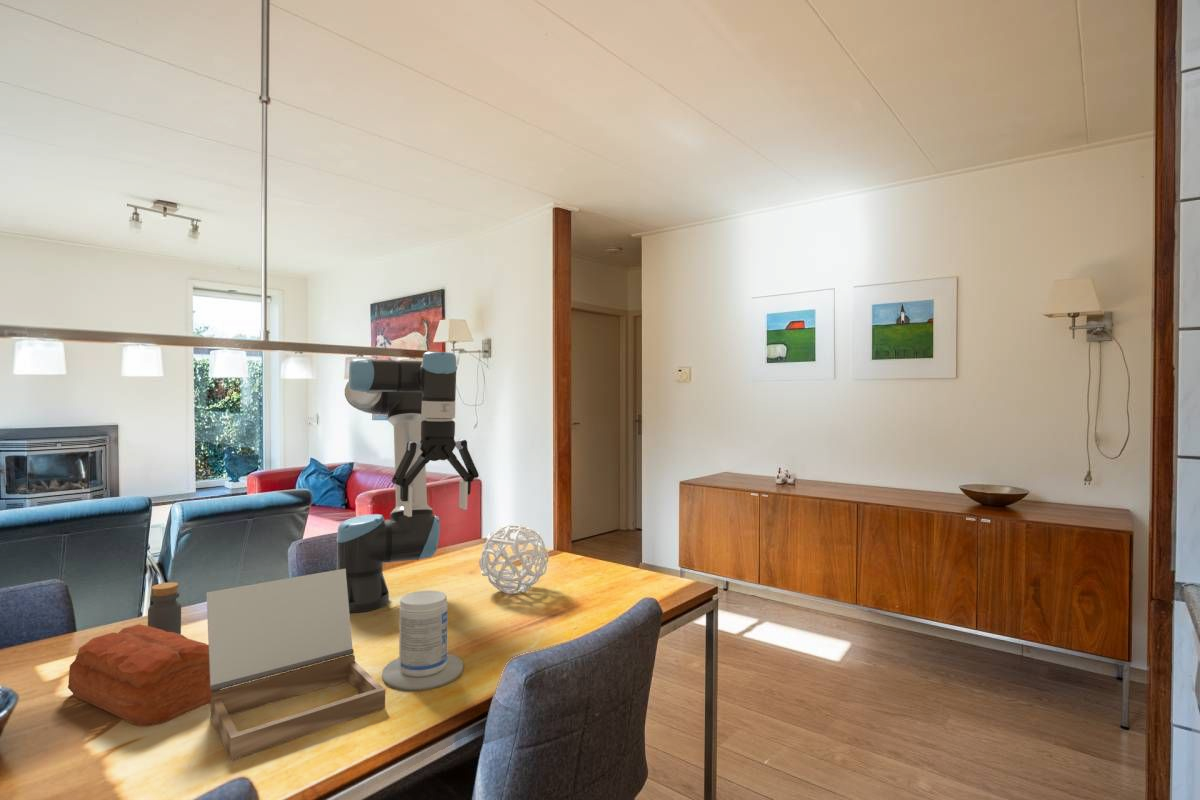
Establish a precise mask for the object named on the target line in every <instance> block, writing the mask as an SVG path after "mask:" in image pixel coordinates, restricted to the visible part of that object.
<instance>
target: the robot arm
mask: <svg viewBox="0 0 1200 800" xmlns="http://www.w3.org/2000/svg"><path fill="white" fill-rule="evenodd" d="M348 369H349V370H348V381H347V382H346V385H345V388H344V397H345V399H346V402H348V404H349V405H350V406H352V407H353V408H355V409H357V410H358V411H361V412H363V413H368V414H373V415H386V416H387V420H388V422H389V424H391V425H392V426H393V443H394V444H393V445H394V447H393V448H394V449H393V450H394V475H393V477H392V479H391V483H392V484H394V486H395V488H394V489H395V507H394V508H393V510H392V511H391V512H390V515H389V516H390V519H385V517H384V516H383V514H378V513H375V514H373V513H372V514H371V513H369V514H364V515H358V516H355V517H354V516H353V517H351V518H349V519H346V520H344V521H342V522H341V523H340V524H339V525H338V528H337V535H336V536H337V537H336V539H335V540H336V543H337V545H336V547H337V548H336V551H337V553H336V570H340V569H345V568H346V579H347V591H348V602H349V613H362V612H368V611H371V610H377V609H379V608H382V607H383V606H385V605H386V604H388V602H389V601H390V593H389V592H390V591H389V588H388V585H387V582H386V580H385V577H384V573H383V572H384V570H383V568H384V567H383V565H384V563H398V562H406V561H415V560H416V561H419V560H423V559H428V558H429V559H430V558H432V557H433V556H434V555H435V554H436V552H437V550H438V546H439V539H440V531H441V524H440V518H439V516H438V515H437V516H436V515H434V509H433V508H432V507H431V506H429V505H428V495H427V470H426V465H427V464H428V463H429V462H430V461H431V462H437V461H448V462H449V464H450V466H452V468H453V469H454V470H455V471H456V473H458V475H459V476H460V477H461V479H462V480H459V483H458V484H459V485H458V486H459V489H458V508H460V509H462V510H464V511H465V510H468V495H470V494H471V491H472V489H471V488H472V482H473V481H474V479H477V478H479V476H480V475H479V472H478V470H477V467H476V464H475V463H474V461H473V458H472V456H471V454H470V451H469V448H468V441H467V440H466V439H461V438H459V439H457V440H455V436H456V422H455V421H454V420H453V419H455V418H456V393H457V370H458V366H457V356H456V354H455V353H453V352H447V351H445V352H444V351H426V352H424V353H423V354H422V360H399V359H398V360H396V359H395V360H393V359H391V360H390V359H375V358H374V359H373V358H372V359H371V358H367V357H366V358H353V359H351V360H350V362H349V367H348ZM455 448H456V449H457V450H458V452H459V455H460V457H461V459H462V461H463V464H464V465H462V463H461V462H460V461H459V459H458V456H457V455H456V454H455V453H454V452H453V451H454V449H455ZM464 466H465V467H464Z"/></svg>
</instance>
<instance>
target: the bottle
mask: <svg viewBox="0 0 1200 800" xmlns="http://www.w3.org/2000/svg"><path fill="white" fill-rule="evenodd" d="M178 587H179V583H178V582H176V581H175V582H162V583H157V584H154V585H153V586H151V592H152V594H151V595H150V597H149V599H150V600H149V601H151V602H153V603H152V604H151V605H150V606H149V607H148V608H147V626H150V627H155V628H158V629H161V630H164V631H166V632H175V633H177V634H180V635H182V604H181V601H179V600H177V599H178V598H179V597H180V591H179V590H178Z"/></svg>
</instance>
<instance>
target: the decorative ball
mask: <svg viewBox="0 0 1200 800" xmlns="http://www.w3.org/2000/svg"><path fill="white" fill-rule="evenodd" d="M512 533H513V534H514V536H513V538H511V534H512ZM519 535H522V536H519ZM499 538H502V539H499ZM529 543H530V544H531V545H532V546H533V549H527V547H528V545H529ZM495 545H496V546H497V549H494V547H495ZM508 545H510V548H511V551H512V552H513V554H511V556H509V553H508V552H507V550H506V548H508V547H507V546H508ZM519 546H522V548H521V549H520V547H519ZM539 548H540V550H539ZM491 554H492V555H493V556H494V557H493V559H492V560H491V558H490V555H491ZM524 556H525V557H524ZM501 557H502V558H503V560H499V559H500V558H501ZM549 559H550V558H549V552H548V549H546V546H545V543H544V540H543V538H542V537H541V533H539V532H538V531H536V530H535V529H534V528H531V527H527V526H525V525H522V524H514V525H512V524H511V525H501V526H500V527H499V528H498V529H497V530H495V531H493V532H490V533H488V535H487V536H486V541H485V543H484V545H483V547H482V551H481V556H480V558H479V560H478V563H479V567H480V570H481V571H480V573H481V575H482V576H483V577H486V576H487V577H488V578H487V580H488V582H489V583H490V584H491V585H492V586H493V587H494V588H495V589H497V590H499V591H500V592H502V593H505V594H507V595H516V594H519V593H523V594H524V593H526V592H528V591H529V589H530V587H533V586H534V584H536V583H537V582H538V581H539V580H540V578H541V576H544V575H545V574H546V572H547V570H548V565H547V564H548V562H549ZM516 560H518V561H519V562H520V564H521V566H522V567H521V569H518V567H517V566H516V565H515V564H513V562H515V561H516ZM498 565H499V566H500V565H501V567H500V569H497V568H496V566H498ZM489 566H490V567H489ZM533 566H534V571H535V572H534V571H533V570H532V568H533ZM507 567H509V569H506V568H507ZM515 576H516V577H515ZM527 576H530V577H528V578H527V579H525V578H526V577H527ZM524 579H525V580H524Z"/></svg>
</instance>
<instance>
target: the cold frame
mask: <svg viewBox="0 0 1200 800" xmlns="http://www.w3.org/2000/svg"><path fill="white" fill-rule="evenodd" d="M347 681H348V682H349V683H350V684H351V685H352V686H354V688H356V689H357V691H358V692H359V694H356V695H352V696H350V697H347V698H343V699H340V700H337V701H334V702H331V703H330V702H329V703H327V704H324V705H321V706H317V707H315V708H311V709H308V710H306V711H305V710H304V711H302V712H298V713H295V714H292V715H288V716H285V717H282V718H279V719H275V720H273V721H270V722H269V721H268V722H266V723H263V724H259V725H257V726H254V727H250V728H247V729H244V730H241V731H238V729H237V728H236V725H235V724H234V722H233V719H232V718H231V715H236V714H238V713H243V712H246V711H249V710H251V709H256V708H259V707H263V706H266V705H269V704H273V703H277V702H279V701H283V700H286V699H289V698H290V699H291V698H293V697H296V696H300V695H303V694H306V693H307V694H308V693H311V692H314V691H317V690H320V689H324V688H327V687H330V686H334V685H337V684H338V685H339V684H341V683H344V682H347ZM385 709H386V688H385V687H384V686H382V685H381V684H380V683H379V682H378V681H377V680H376V679H375V678H374V677H373V676H372V675H370V673H368V672H367V671H366V670H365V669H364V668H363V667H362V666H361V665H360V664H359V663H358V662H357V661H356V655H354V653H353V654H350V655H347V656H343V657H339V658H336V659H332V660H328V661H324V662H321V663H317V664H313V665H309V666H306V667H302V668H298V669H294V670H291V671H287V672H283V673H279V674H276V675H272V676H268V677H264V678H261V679H257V680H253V681H249V682H246V683H242V684H238V685H234V686H231V687H227V688H223V689H220V690H217V691H213V692H211V703H210V720H211V722H212V723H213V726H214V729H216V732H217V734H218V737H219V740H220V742H221V743H222V745H223V748H224V750H225V752H226V754H227V756H228V758H230V759H229V760H230V761H231V760H232V761H235V760H236V758H237V759H240V758H244V757H246V756H249V755H252V754H254V753H258V752H261V751H263V750H267V749H270V748H272V747H276V746H278V745H281V744H284V743H287V742H291V741H293V740H296V739H299V738H302V737H305V736H309V735H312V734H314V733H317V732H319V731H323V730H326V729H328V728H332V727H335V726H338V725H340V724H344V723H346V722H349V721H352V720H355V719H359V718H361V717H364V716H368V715H370V714H373V713H376V712H379V711H382V710H385ZM239 757H240V758H239Z"/></svg>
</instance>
